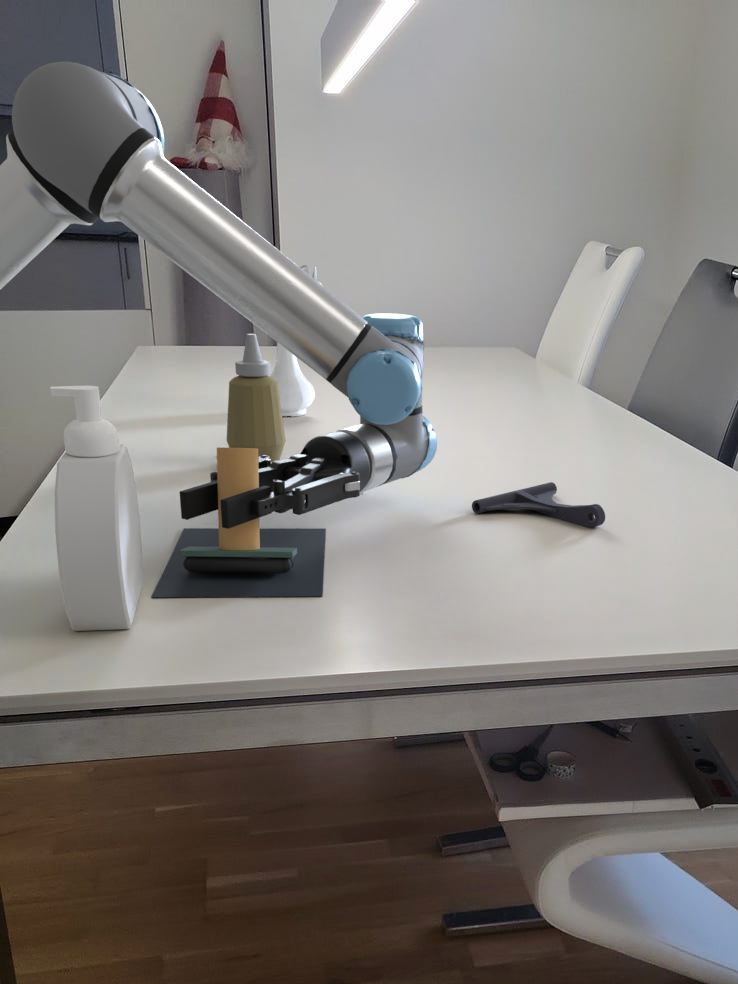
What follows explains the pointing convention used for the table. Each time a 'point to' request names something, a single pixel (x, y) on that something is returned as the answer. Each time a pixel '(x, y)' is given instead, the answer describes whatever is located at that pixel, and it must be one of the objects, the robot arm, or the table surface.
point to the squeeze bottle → (255, 405)
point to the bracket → (542, 505)
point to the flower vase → (292, 378)
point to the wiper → (242, 540)
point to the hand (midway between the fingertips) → (204, 509)
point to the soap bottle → (96, 520)
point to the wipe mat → (294, 583)
